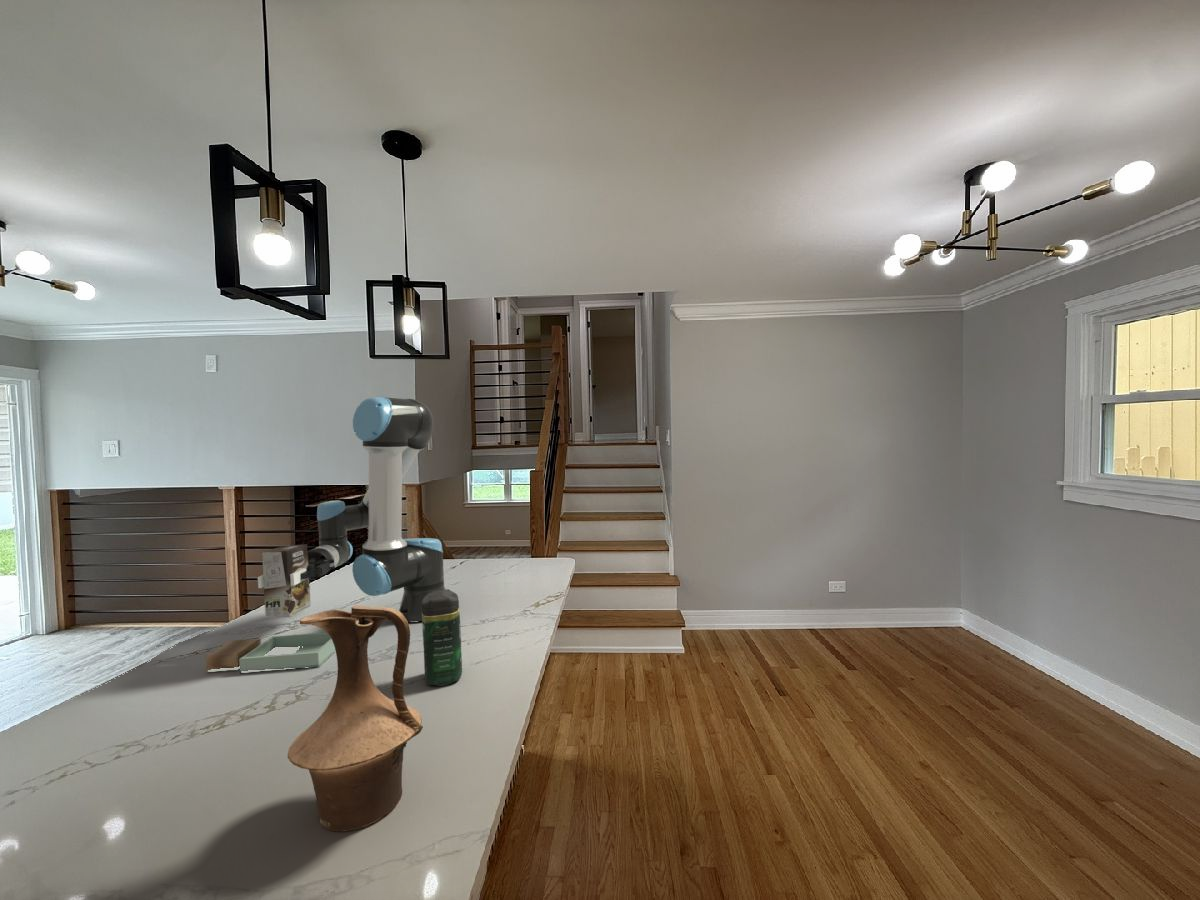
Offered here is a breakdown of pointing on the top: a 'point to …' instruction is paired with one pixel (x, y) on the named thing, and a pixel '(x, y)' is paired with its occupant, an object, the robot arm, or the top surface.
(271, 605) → the coffee box
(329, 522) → the robot arm
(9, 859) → the top surface
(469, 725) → the top surface
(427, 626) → the coffee jar
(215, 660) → the walnut ledge
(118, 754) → the top surface
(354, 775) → the pitcher
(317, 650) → the tray
